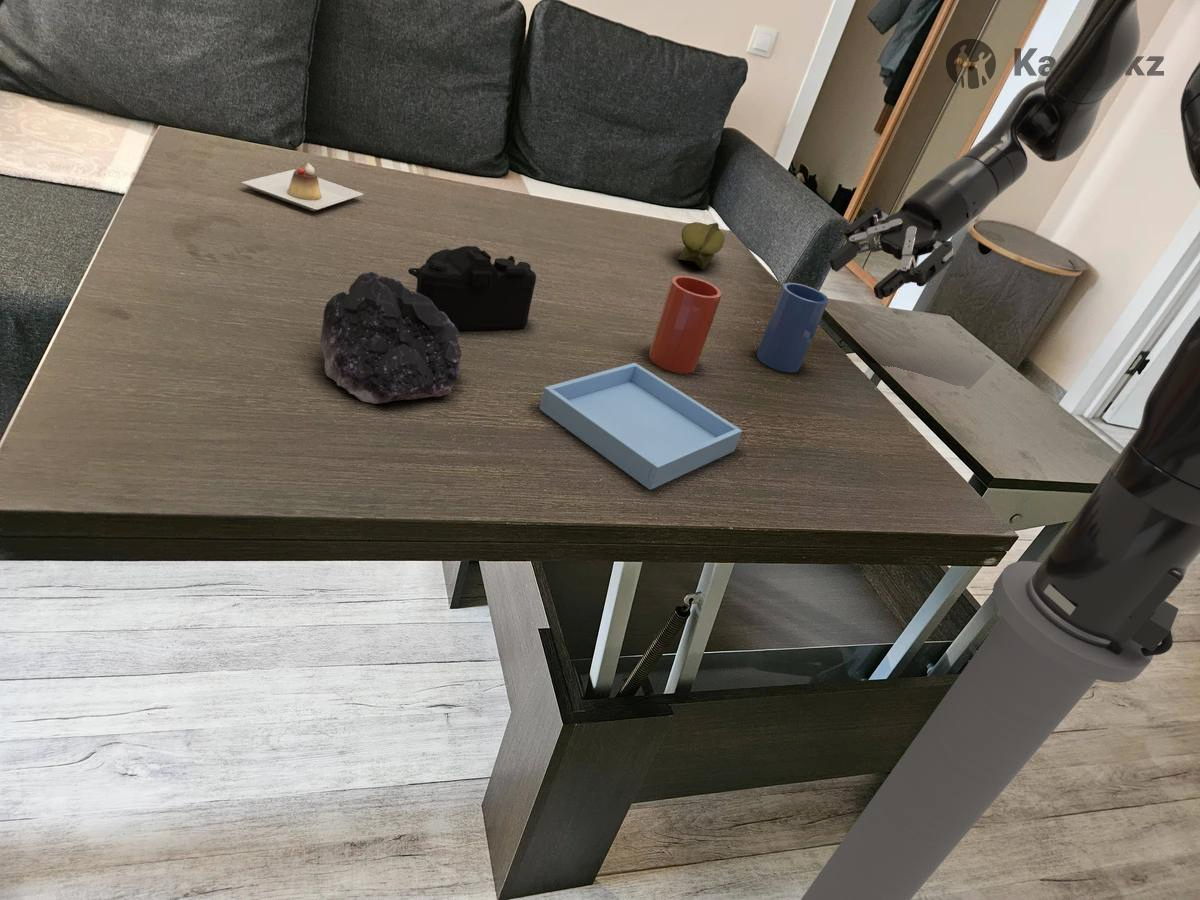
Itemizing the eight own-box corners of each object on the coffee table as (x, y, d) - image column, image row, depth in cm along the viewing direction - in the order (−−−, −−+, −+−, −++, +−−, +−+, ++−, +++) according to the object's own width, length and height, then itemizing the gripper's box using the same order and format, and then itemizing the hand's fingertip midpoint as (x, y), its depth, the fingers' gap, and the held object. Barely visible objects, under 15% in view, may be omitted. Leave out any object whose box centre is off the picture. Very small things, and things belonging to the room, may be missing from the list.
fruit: (652, 246, 135) (663, 208, 132) (709, 251, 141) (721, 215, 138) (685, 273, 127) (697, 234, 124) (744, 278, 133) (758, 240, 129)
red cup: (704, 368, 98) (731, 294, 93) (675, 377, 94) (701, 300, 89) (668, 346, 101) (692, 273, 96) (639, 354, 97) (661, 278, 92)
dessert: (240, 190, 110) (240, 155, 108) (293, 176, 120) (295, 144, 118) (316, 217, 109) (318, 182, 106) (363, 201, 119) (366, 169, 116)
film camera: (501, 296, 102) (514, 228, 97) (535, 331, 95) (550, 260, 91) (385, 296, 93) (393, 222, 89) (414, 334, 87) (424, 257, 82)
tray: (734, 451, 83) (742, 430, 81) (649, 490, 73) (657, 467, 71) (629, 382, 90) (635, 362, 89) (539, 409, 80) (544, 387, 79)
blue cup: (807, 368, 107) (836, 299, 101) (784, 376, 102) (814, 305, 97) (771, 347, 110) (797, 280, 104) (747, 355, 105) (774, 285, 100)
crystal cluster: (463, 422, 76) (488, 326, 72) (314, 401, 71) (332, 296, 66) (446, 364, 87) (467, 278, 82) (316, 342, 81) (331, 249, 77)
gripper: (905, 161, 106) (811, 238, 106) (991, 198, 96) (887, 283, 96) (913, 203, 111) (824, 276, 111) (995, 243, 102) (897, 323, 102)
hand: (853, 279), depth 104 cm, fingers open, 8 cm apart
